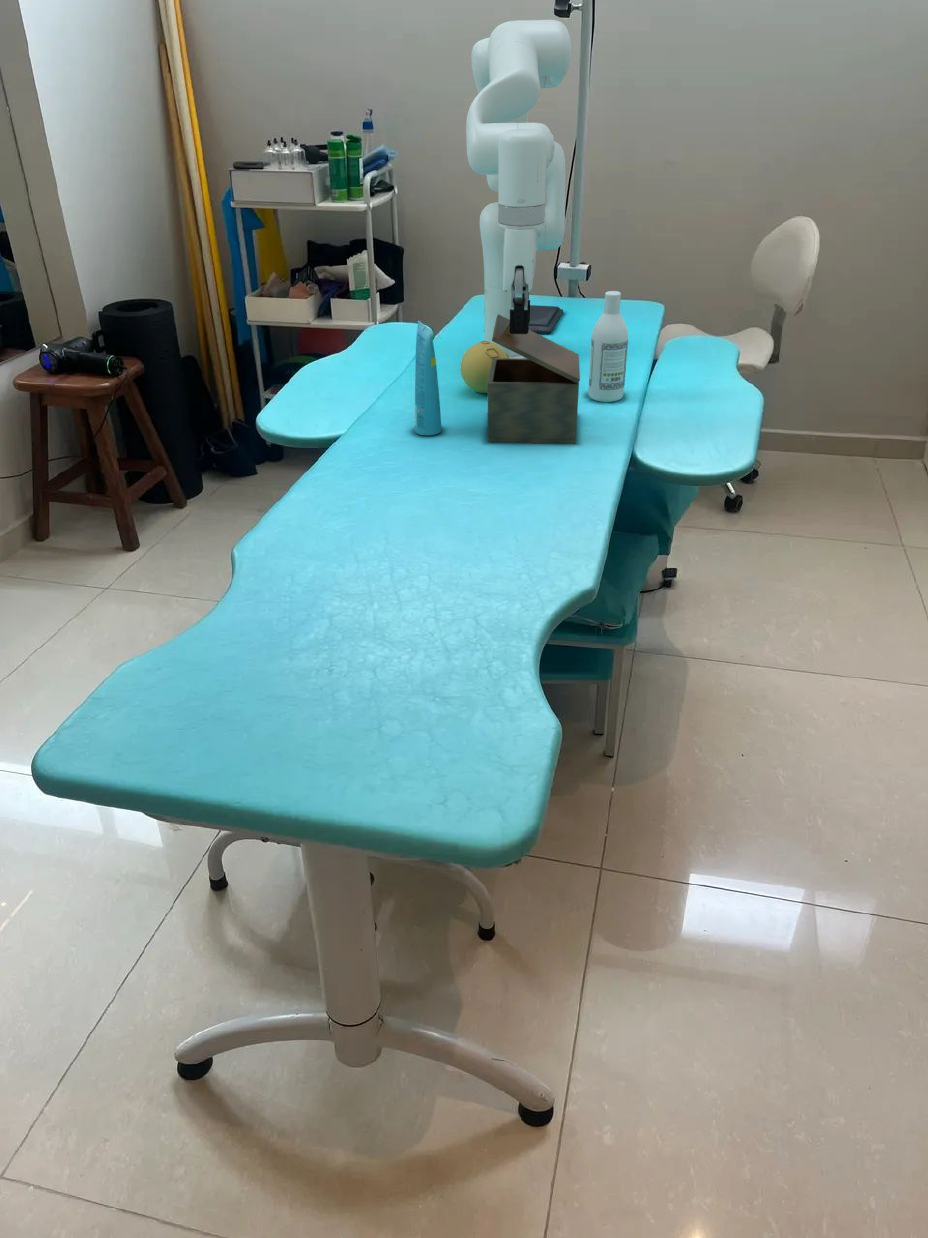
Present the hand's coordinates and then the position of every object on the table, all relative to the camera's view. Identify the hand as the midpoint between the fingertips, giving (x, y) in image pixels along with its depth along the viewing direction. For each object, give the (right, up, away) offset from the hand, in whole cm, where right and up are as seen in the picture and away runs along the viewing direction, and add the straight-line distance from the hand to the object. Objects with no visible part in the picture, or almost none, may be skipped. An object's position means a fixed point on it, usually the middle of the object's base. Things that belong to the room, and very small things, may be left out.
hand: (519, 327), depth 158 cm
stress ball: (-5, -5, +27) cm, 28 cm away
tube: (-16, -16, +10) cm, 25 cm away
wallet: (+6, +23, +67) cm, 71 cm away
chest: (+3, -15, +10) cm, 19 cm away
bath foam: (+18, -7, +23) cm, 30 cm away
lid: (+3, -3, +2) cm, 5 cm away
